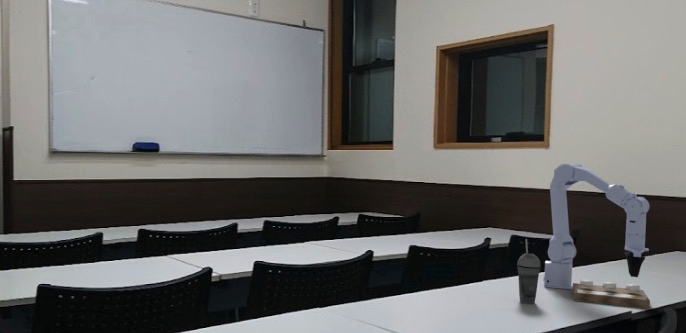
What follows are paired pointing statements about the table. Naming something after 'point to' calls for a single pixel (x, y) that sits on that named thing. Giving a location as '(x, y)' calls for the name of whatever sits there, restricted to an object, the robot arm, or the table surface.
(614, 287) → the button middle
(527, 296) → the beverage cup
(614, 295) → the button board
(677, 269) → the table surface
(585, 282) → the button left
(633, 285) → the button right
